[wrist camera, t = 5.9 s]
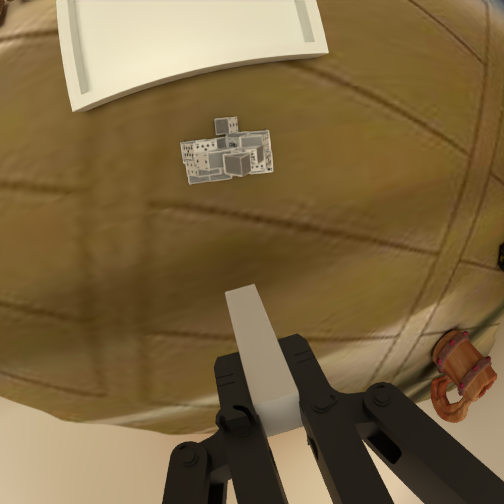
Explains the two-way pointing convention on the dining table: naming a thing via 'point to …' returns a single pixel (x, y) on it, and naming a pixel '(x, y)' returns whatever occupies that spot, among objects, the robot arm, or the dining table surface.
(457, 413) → the mug
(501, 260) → the tape measure
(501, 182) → the dining table surface
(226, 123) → the house of cards
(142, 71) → the tray
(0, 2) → the wooden block set
